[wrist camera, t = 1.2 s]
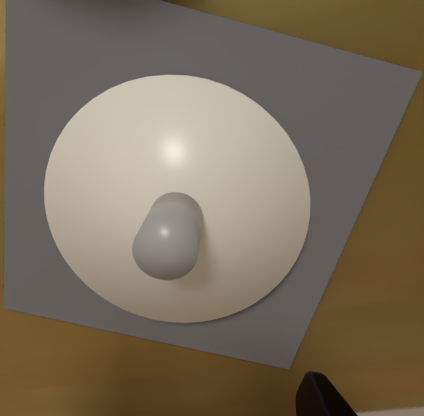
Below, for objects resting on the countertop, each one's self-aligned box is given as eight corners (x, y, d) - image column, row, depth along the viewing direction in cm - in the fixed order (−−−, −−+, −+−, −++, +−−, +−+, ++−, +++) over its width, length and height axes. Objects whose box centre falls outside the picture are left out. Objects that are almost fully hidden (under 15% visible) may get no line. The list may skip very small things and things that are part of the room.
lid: (345, 114, 15) (391, 129, 11) (263, 330, 20) (273, 398, 16) (62, 41, 14) (-3, 27, 10) (47, 284, 19) (-2, 342, 15)
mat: (416, 72, 15) (422, 72, 14) (287, 363, 22) (288, 369, 21) (13, -39, 14) (6, -43, 13) (8, 303, 21) (3, 308, 20)
